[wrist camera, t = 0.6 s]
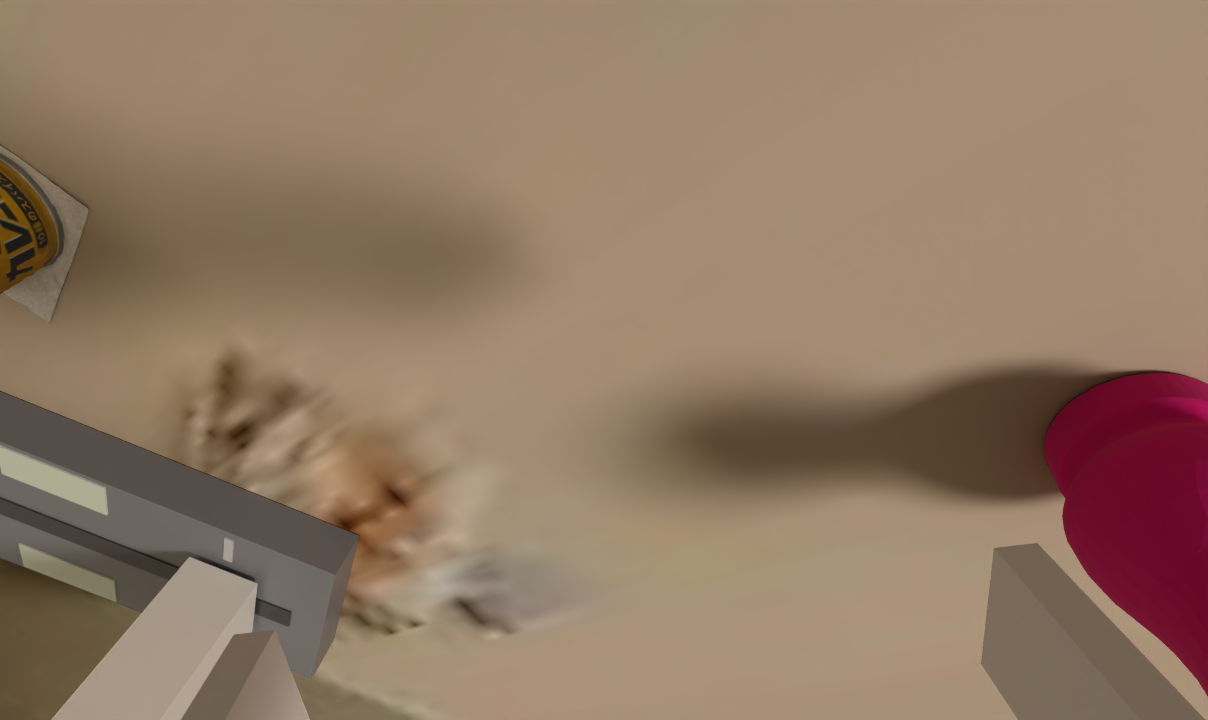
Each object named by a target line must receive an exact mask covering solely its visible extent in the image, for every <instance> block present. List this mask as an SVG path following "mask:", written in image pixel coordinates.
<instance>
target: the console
mask: <svg viewBox="0 0 1208 720" xmlns="http://www.w3.org/2000/svg"><path fill="white" fill-rule="evenodd" d="M358 539H359V535H356V534H354V533H351V532H349V531H347V530H344V529H342V528H339V527H337V526H334V525H332V524H329V523H327V522H324V521H322V520H319V519H317V518H314V517H312V516H309V515H307V514H304V513H302V512H299V511H297V510H294V509H292V508H289V507H287V506H284V505H282V504H279V503H277V502H274V501H272V500H269V499H267V498H264V497H262V496H259V495H257V494H254V493H252V492H249V491H247V490H244V489H242V488H239V487H237V486H234V485H232V484H230V483H227V482H225V481H222V480H220V479H217V478H215V477H212V476H210V475H207V474H205V473H202V472H200V471H197V470H195V469H192V468H190V467H187V466H185V465H182V464H180V463H177V462H175V461H172V460H170V459H167V458H165V457H162V456H160V455H157V454H155V453H152V452H150V451H147V450H145V449H142V448H140V447H137V446H135V445H132V444H130V443H127V442H125V441H122V440H120V439H117V438H115V437H113V436H110V435H108V434H105V433H103V432H100V431H98V430H95V429H93V428H90V427H88V426H85V425H83V424H80V423H78V422H75V421H73V420H70V419H68V418H65V417H63V416H60V415H58V414H55V413H53V412H50V411H48V410H45V409H43V408H40V407H38V406H35V405H33V404H30V403H28V402H25V401H23V400H20V399H18V398H15V397H13V396H10V395H8V394H5V393H3V392H0V558H2V559H4V560H7V561H9V562H12V563H15V564H17V565H20V566H22V567H25V568H28V569H30V570H33V571H35V572H38V573H40V574H43V575H46V576H48V577H51V578H53V579H56V580H58V581H61V582H64V583H66V584H69V585H71V586H74V587H77V588H79V589H82V590H84V591H87V592H89V593H92V594H95V595H97V596H100V597H102V598H105V599H107V600H110V601H113V602H115V603H118V604H120V605H123V606H125V607H128V608H131V609H133V610H136V611H138V612H141V613H142V612H143V611H144V610H145V609H146V607H147V606H148V605H149V604H150V603H151V602H152V600H153V599H154V598H155V597H156V596H157V594H158V593H159V592H160V591H161V590H162V589H163V587H164V586H165V585H166V584H167V583H168V581H169V580H170V579H171V578H172V577H173V576H174V574H175V573H176V572H177V571H178V570H179V568H180V567H181V566H182V565H183V564H184V563H185V561H186V560H187V559H188V558H189V557H191V558H194V559H196V560H199V561H201V562H204V563H206V564H209V565H212V566H214V567H217V568H219V569H222V570H224V571H227V572H229V573H232V574H234V575H237V576H239V577H242V578H245V579H247V580H250V581H252V582H255V583H257V593H256V602H255V611H254V620H253V629H252V632H260V631H269V630H275V632H276V634H277V637H278V640H279V642H280V645H281V647H282V650H283V652H284V655H285V658H286V660H287V663H288V665H289V668H290V670H291V671H293V672H296V673H298V674H301V675H303V676H306V677H309V678H311V679H312V677H313V676H314V674H315V672H316V670H317V668H318V667H319V665H320V663H321V661H322V660H323V658H324V656H325V654H326V653H327V651H328V649H329V647H330V646H331V644H332V642H333V640H334V636H335V632H336V628H337V624H338V620H339V616H340V612H341V608H342V604H343V600H344V596H345V592H346V588H347V584H348V580H349V575H350V571H351V567H352V563H353V559H354V555H355V551H356V547H357V543H358Z"/></svg>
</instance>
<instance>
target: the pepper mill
mask: <svg viewBox="0 0 1208 720" xmlns="http://www.w3.org/2000/svg"><path fill="white" fill-rule="evenodd" d="M1044 452H1045V458H1046V461H1047V464H1048V466H1049V468H1050V470H1051V472H1052V474H1053V477H1054V479H1055V481H1056V483H1057V485H1058V487H1059V489H1060V491H1061V493H1062V494H1063V496H1064V497H1065V498H1066V499H1065V503H1064V508H1063V515H1062V517H1063V525H1064V531H1065V534H1066V538H1067V541H1068V543H1069V545H1070V546H1071V548H1072V550H1073V551H1074V553H1075V555H1076V556H1077V558H1078V560H1079V561H1080V563H1081V565H1082V566H1083V568H1084V569H1085V571H1086V572H1087V574H1088V575H1089V576H1090V578H1091V579H1092V580H1093V581H1094V582H1095V583H1096V584H1097V585H1098V586H1099V587H1100V588H1101V589H1102V590H1103V591H1104V593H1105V594H1106V595H1107V596H1108V597H1109V598H1110V599H1111V600H1112V601H1113V602H1114V603H1115V604H1116V605H1117V606H1119V607H1120V608H1121V609H1122V610H1124V611H1125V612H1126V613H1127V614H1129V615H1130V616H1131V617H1132V618H1134V619H1135V620H1136V621H1137V622H1139V623H1140V624H1141V625H1142V626H1144V627H1145V628H1146V629H1147V630H1149V631H1150V632H1151V633H1152V634H1154V635H1155V636H1156V637H1157V638H1159V639H1160V640H1161V641H1162V642H1163V643H1164V644H1165V645H1166V646H1167V647H1168V648H1169V649H1170V650H1171V651H1173V652H1174V653H1175V655H1176V656H1177V657H1178V658H1179V659H1180V660H1181V661H1182V663H1183V664H1184V665H1185V666H1186V667H1187V668H1188V669H1189V671H1190V672H1191V673H1192V674H1193V675H1194V676H1195V678H1196V679H1197V680H1198V681H1199V683H1200V685H1201V686H1202V688H1203V690H1204V691H1205V693H1206V694H1207V696H1208V384H1207V383H1205V382H1202V381H1200V380H1198V379H1195V378H1191V377H1188V376H1183V375H1177V374H1172V373H1145V374H1138V375H1131V376H1124V377H1121V378H1118V379H1115V380H1112V381H1109V382H1106V383H1103V384H1100V385H1097V386H1095V387H1093V388H1092V389H1090V390H1088V391H1087V392H1085V393H1083V394H1082V395H1080V396H1078V397H1077V398H1075V399H1073V400H1072V401H1070V402H1069V403H1068V404H1067V405H1066V406H1065V407H1064V408H1063V409H1062V410H1061V411H1060V413H1059V414H1058V415H1057V416H1056V417H1055V419H1054V420H1053V422H1052V424H1051V426H1050V427H1049V429H1048V431H1047V434H1046V438H1045V451H1044Z"/></svg>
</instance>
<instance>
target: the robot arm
mask: <svg viewBox="0 0 1208 720" xmlns="http://www.w3.org/2000/svg"><path fill="white" fill-rule="evenodd" d="M981 664H982V666H983V667H984V669H985V670H986V672H987V673H988V675H989V676H990V678H991V679H992V681H993V682H994V684H995V685H996V687H997V688H998V690H999V691H1000V693H1001V694H1002V696H1003V697H1004V699H1005V700H1006V702H1007V703H1008V705H1009V706H1010V708H1011V709H1012V711H1013V713H1014V714H1015V716H1016V717H1017V719H1018V720H1205V719H1204V718H1203V717H1202V716H1201V715H1200V714H1199V713H1198V712H1197V711H1196V710H1195V709H1194V707H1193V706H1192V705H1191V704H1190V703H1189V702H1188V701H1187V700H1186V699H1185V698H1184V697H1183V696H1182V695H1181V694H1180V693H1179V692H1178V691H1177V690H1176V689H1175V687H1174V686H1173V685H1172V684H1171V683H1170V682H1169V681H1168V680H1167V679H1166V678H1165V677H1164V676H1163V675H1162V674H1161V673H1160V672H1159V671H1158V670H1157V669H1156V668H1155V666H1154V665H1153V664H1152V663H1151V662H1150V661H1149V660H1148V659H1147V658H1146V657H1145V656H1144V655H1143V654H1142V653H1141V652H1140V651H1139V650H1138V649H1137V648H1136V647H1135V645H1134V644H1133V643H1132V642H1131V641H1130V640H1129V639H1128V638H1127V637H1126V636H1125V635H1124V634H1123V633H1122V632H1121V631H1120V630H1119V629H1118V628H1117V627H1116V626H1115V624H1114V623H1113V622H1112V621H1111V620H1110V619H1109V618H1108V617H1107V616H1106V615H1105V614H1104V613H1103V612H1102V611H1101V610H1100V609H1099V608H1098V607H1097V606H1096V605H1095V603H1094V602H1093V601H1092V600H1091V599H1090V598H1089V597H1088V596H1087V595H1086V594H1085V593H1084V592H1083V591H1082V590H1081V589H1080V588H1079V587H1078V586H1077V585H1076V583H1075V582H1074V581H1073V580H1072V579H1071V578H1070V577H1069V576H1068V575H1067V574H1066V573H1065V572H1064V571H1063V570H1062V569H1061V568H1060V567H1059V566H1058V565H1057V564H1056V562H1055V561H1054V560H1053V559H1052V558H1051V557H1050V556H1049V555H1048V554H1047V553H1046V552H1045V551H1044V550H1043V549H1042V548H1041V547H1040V546H1039V545H1038V544H1037V543H1034V544H1025V545H1016V546H1008V547H999V548H994V552H993V561H992V570H991V579H990V588H989V597H988V606H987V615H986V624H985V633H984V642H983V651H982V660H981ZM181 720H310V719H309V717H308V714H307V711H306V709H305V706H304V704H303V701H302V699H301V696H300V693H299V691H298V688H297V686H296V683H295V681H294V678H293V676H292V673H291V670H290V668H289V665H288V663H287V660H286V658H285V655H284V652H283V650H282V647H281V645H280V642H279V640H278V637H277V634H276V632H275V630H269V631H260V632H251V633H243V634H234V635H233V637H232V638H231V640H230V641H229V643H228V645H227V646H226V648H225V650H224V651H223V653H222V654H221V656H220V658H219V659H218V661H217V662H216V664H215V666H214V667H213V669H212V670H211V672H210V674H209V675H208V677H207V678H206V680H205V682H204V683H203V685H202V686H201V688H200V690H199V691H198V693H197V695H196V696H195V698H194V699H193V701H192V703H191V704H190V706H189V707H188V709H187V711H186V712H185V714H184V715H183V717H182V719H181Z"/></svg>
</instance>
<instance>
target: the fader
mask: <svg viewBox="0 0 1208 720" xmlns="http://www.w3.org/2000/svg"><path fill="white" fill-rule="evenodd" d="M256 593H257V583H255V582H252V581H250V580H247V579H245V578H242V577H239V576H237V575H234V574H232V573H229V572H227V571H224V570H222V569H219V568H217V567H214V566H212V565H209V564H206V563H204V562H201V561H199V560H196V559H194V558H191V557H189V558H188V559H187V560H186V561H185V563H184V564H183V565H182V566H181V567H180V568H179V570H178V571H177V572H176V573H175V574H174V576H173V577H172V578H171V579H170V580H169V581H168V583H167V584H166V585H165V586H164V587H163V589H162V590H161V591H160V592H159V593H158V594H157V596H156V597H155V598H154V599H153V600H152V602H151V603H150V604H149V605H148V606H147V607H146V609H145V610H144V611H143V612H142V613H141V614H140V616H139V617H138V618H137V619H136V620H135V622H134V623H133V624H132V625H131V626H130V627H129V629H128V630H127V631H126V632H125V633H124V635H123V636H122V637H121V638H120V639H119V640H118V642H117V643H116V644H115V645H114V646H113V647H112V649H111V650H110V651H109V652H108V653H107V655H106V656H105V657H104V658H103V659H102V660H101V662H100V663H99V664H98V665H97V666H96V668H95V669H94V670H93V671H92V672H91V673H90V675H89V676H88V677H87V678H86V679H85V681H84V682H83V683H82V684H81V685H80V686H79V688H78V689H77V690H76V691H75V692H74V693H73V695H72V696H71V697H70V698H69V699H68V701H67V702H66V703H65V704H64V705H63V706H62V708H61V709H60V710H59V711H58V712H57V714H56V715H55V716H54V717H53V718H52V719H51V720H181V719H182V717H183V715H184V714H185V712H186V711H187V709H188V707H189V706H190V704H191V703H192V701H193V699H194V698H195V696H196V695H197V693H198V691H199V690H200V688H201V686H202V685H203V683H204V682H205V680H206V678H207V677H208V675H209V674H210V672H211V670H212V669H213V667H214V666H215V664H216V662H217V661H218V659H219V658H220V656H221V654H222V653H223V651H224V650H225V648H226V646H227V645H228V643H229V641H230V640H231V638H232V637H233V635H234V634H243V633H251V632H252V629H253V620H254V611H255V602H256Z"/></svg>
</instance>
